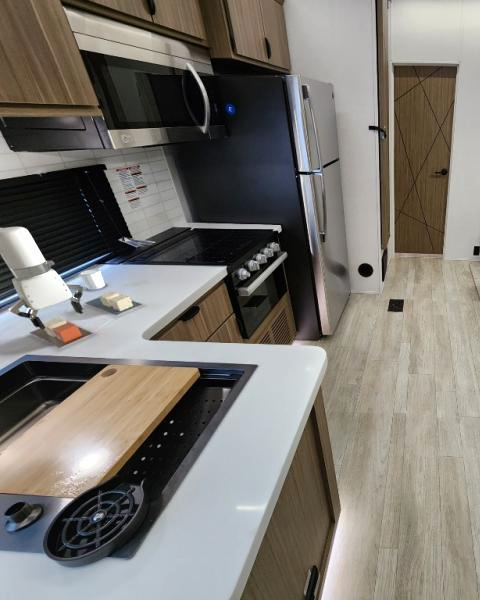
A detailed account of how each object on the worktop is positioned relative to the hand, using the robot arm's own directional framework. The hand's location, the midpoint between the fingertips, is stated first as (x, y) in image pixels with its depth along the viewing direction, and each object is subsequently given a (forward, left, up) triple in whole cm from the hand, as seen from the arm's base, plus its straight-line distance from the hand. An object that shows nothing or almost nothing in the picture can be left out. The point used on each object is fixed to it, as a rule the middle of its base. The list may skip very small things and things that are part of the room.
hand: (61, 320), depth 104 cm
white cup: (+25, +38, -7) cm, 46 cm away
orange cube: (0, 0, -7) cm, 7 cm away
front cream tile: (0, +7, -7) cm, 10 cm away
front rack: (0, +6, -7) cm, 9 cm away
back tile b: (+19, +13, -7) cm, 24 cm away
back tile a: (+19, +6, -7) cm, 21 cm away
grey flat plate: (+19, +13, -7) cm, 24 cm away
